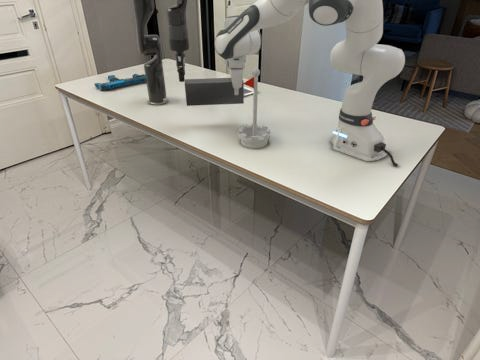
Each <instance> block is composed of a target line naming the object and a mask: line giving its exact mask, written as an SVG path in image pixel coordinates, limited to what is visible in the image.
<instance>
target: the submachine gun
mask: <svg viewBox="0 0 480 360" xmlns="http://www.w3.org/2000/svg"><path fill="white" fill-rule="evenodd" d="M131 76H132V77H129V78H118V77H116V75H114V74H112V75H108V76H107V79H108V80H109V81H108V82H94V87H95V88H97V89H98V90H100V91H103V90H104V91H106V90H114V89H115V88H118V87H119V88H120V87H123V86H128V85H133V84H138V83H144V82H146V76H145V73H144V74H143V73H142V74H138V73H133V74H132V75H131Z"/></svg>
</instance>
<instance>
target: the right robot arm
mask: <svg viewBox="0 0 480 360" xmlns="http://www.w3.org/2000/svg"><path fill="white" fill-rule="evenodd" d="M306 5H308V14H309V18H310V19H311V21H312V22H314V23H316V24H318V25H320V26H323V27H325V26H326V27H327V26H334V25H337V24H341V23H343V22H344V23H345V24H344V25H345V38H344V39H342V40H341V41H338V42H337V43H336V44H335V45H334V46H333V48H332V49H331V51H330V55H329V63H330V65H331V67H332V69H333V70H336V71H338V72H342V73H344V74H350V75H356V76H362V81H360V82H356V83H354V84H353V83H352V84H351V85H349V86H348V87H346V89H345V90H344V92H343V98H342V103H341V108H340V109H339V113H338V122H337V123H338V124H337V127H336V130H335V131H332V134H334V135H333V137H332V139H331V144H332V149H333V150H334V151H336V152H340V153H343V154H344V155H345V154H346V155H348V156H351V157H354V158H356V159H359V160H361V161H365V162H374V161H379V160H381V159H383V158H385V157H387V156H388V157H389V158H390V162H391V164H392V165H393V166H394V167H398V166H399V165H398V163H396V162H395V160H394V157H393V156H392V154H391V153H390V150H389V148H387V147H386V146H387V144H386V143H385V138H384V135H383V134H382V133H381V131H379V128H377V126H376V125H375V124H374V121H375V120H376V119H377V116H373V113H372V109H373V105H374V101H375V98H376V95H377V93H378V92H379V90H380V89H381V87H383V86H384V84H385V83H387V82H388V81H390V80H392V79H394V78H396V77H397V76H398V75H399V74H401V72H402V71H403V69H404V67H405V64H406V56H405V53H404V51H403V49H402V48H398V47H396V46H393V45H389V44H379V42H380V41H381V39H382V37H383V35H384V4H383V0H256V1H255V2H253V4H251V5H250V6H248V7H247V8H246V9H244V10H243V11H242V12H241V13H240V14H239V15H231V16H226V18H225V19H224V24H223V29H220V30H219V31H218V32H217V34H216V36H215V38H214V49H215V52H216V54H217V55H218V56H220V58H222V59H224V61H223V62H224V65H226V66H227V68H228V69H229V76H230V77H229V78H231V81H232V85H233V88H234V94H235V95H238V94H239V88H241V87H242V82H243V81H244V69H245V68H246V64H247V56H249V55H254V54H256V53H257V54H258V53H259V52H260V50H261V48H262V45H263V37H262V34H261V32H260V30H262V29H267V28H273V27H278V26H281V25H283V24H285V23H287V22H288V21H290V20H291V19H292V18H293V17H295V15H296V14H298V12H299V11H300V10H301V9H302V8H303V7H304V6H306Z"/></svg>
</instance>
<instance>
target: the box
mask: <svg viewBox="0 0 480 360" xmlns="http://www.w3.org/2000/svg"><path fill="white" fill-rule="evenodd" d="M243 83H245V82H244V80H243V82H242V87H241V88H239V94H238V95H235V94H234V88H233V85H232V81H231V77H214V78H213V77H211V78H209V77H208V78H185V81H184V92H185V102H186V107H192V106H193V107H194V106H216V105H217V106H219V105H236V104H237V105H241V104H242V105H243V104H244V101H245V100H244V97H245V96H244V87H245V85H244V84H243Z"/></svg>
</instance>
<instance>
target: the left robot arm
mask: <svg viewBox="0 0 480 360" xmlns="http://www.w3.org/2000/svg"><path fill="white" fill-rule="evenodd" d="M131 1H132V2H131V3H132V8H133V13H134V20H135V31H136V44H137V45H136V46H137V50H138V53H139V55H140V56H141V57H149V56H153V57H152V58H151V59H150V60H148V61H145V63H144V64H143V70H144V75H145V76H146V81H145V83H146V89H147V95H148V103H149V104H150V105H154V106H159V105H165V104H166V103H167V102H168V97H167V89H166V81H165V73H164V66H163V57H162V56H163V55H162V43H161V39H160V37H159V35H158V34H147V35H146V34H145V31H146V27H147V24H148V22H149V20H150V18H151V17H152V15H153V13H154V10H155V0H131ZM187 5H188V0H176V3H175V4H174V5H172V6H170V7H168V8H166V18H167V33H168V44H169V49H170V51H172V52H176V53H175V54H174V59H175V66H176V69H177V70H176V72H177V73H178V81H179V82H180V83H185V79H186V78H185V76H186V69H185V67H186V53H185V52H186V51H188V50H190V41H189V30H188V29H189V28H188V25H187Z"/></svg>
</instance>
